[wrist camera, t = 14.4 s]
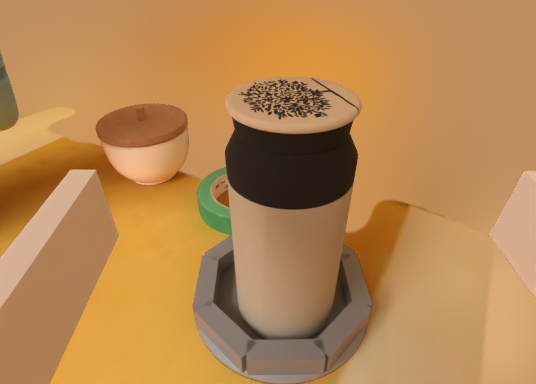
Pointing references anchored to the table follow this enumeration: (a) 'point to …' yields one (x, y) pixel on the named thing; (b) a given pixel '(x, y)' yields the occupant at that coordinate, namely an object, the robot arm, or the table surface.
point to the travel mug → (289, 199)
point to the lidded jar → (145, 141)
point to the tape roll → (214, 201)
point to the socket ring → (282, 350)
